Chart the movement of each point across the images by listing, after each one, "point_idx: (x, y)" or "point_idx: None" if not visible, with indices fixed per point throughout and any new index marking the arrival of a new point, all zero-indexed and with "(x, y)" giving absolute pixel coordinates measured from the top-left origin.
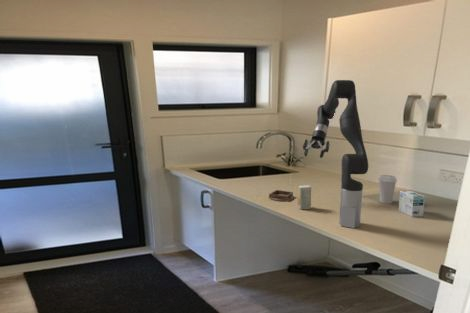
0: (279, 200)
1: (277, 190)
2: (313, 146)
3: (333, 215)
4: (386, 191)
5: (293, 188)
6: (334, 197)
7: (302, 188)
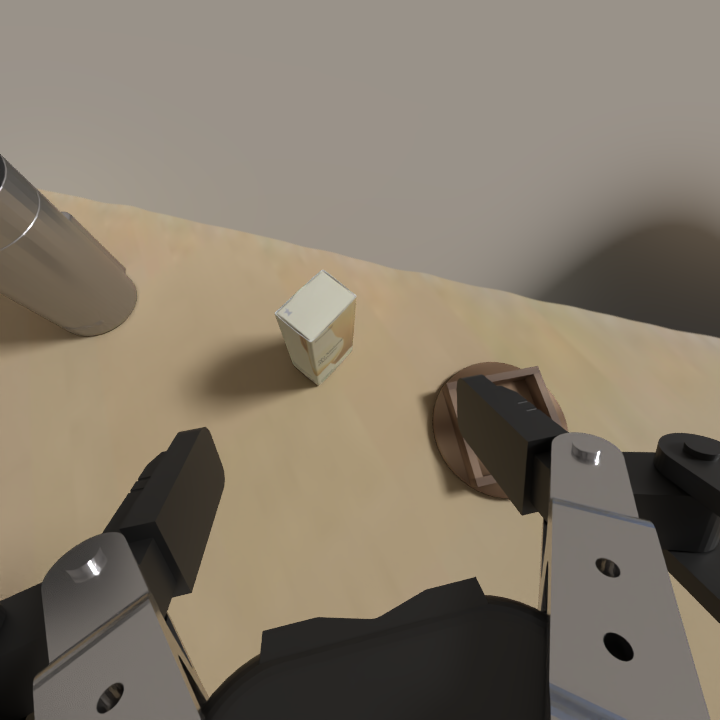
0: (464, 369)
1: None
2: (449, 589)
3: (179, 353)
4: None
5: None
6: None
7: (313, 279)
